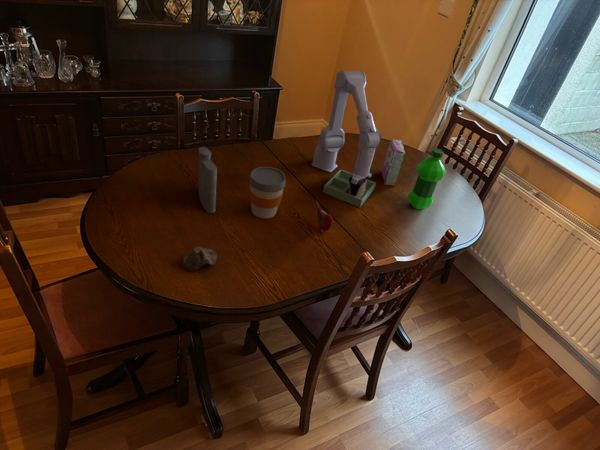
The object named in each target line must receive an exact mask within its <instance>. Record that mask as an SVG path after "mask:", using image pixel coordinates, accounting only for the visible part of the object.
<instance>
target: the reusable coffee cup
mask: <svg viewBox="0 0 600 450" xmlns="http://www.w3.org/2000/svg"><path fill="white" fill-rule="evenodd" d="M248 183H249V187H248V188H249V189H248V190H249V191H248V192H249V201H250V205H251V213H252V214H253V215H254V216H255V217H257V218H260V219H270V218H271V219H272V218H273V217H275V216H276V215H277V211H278V208H279V206H280V204H281V202H282V199H283V195H284V188H285V187H286V175H285V173H284V172H283V171H282V170H280V169H278V168H276V167H271V166H259V167H255V168H254V169H252V170H251V172H250V175H249V181H248Z"/></svg>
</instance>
